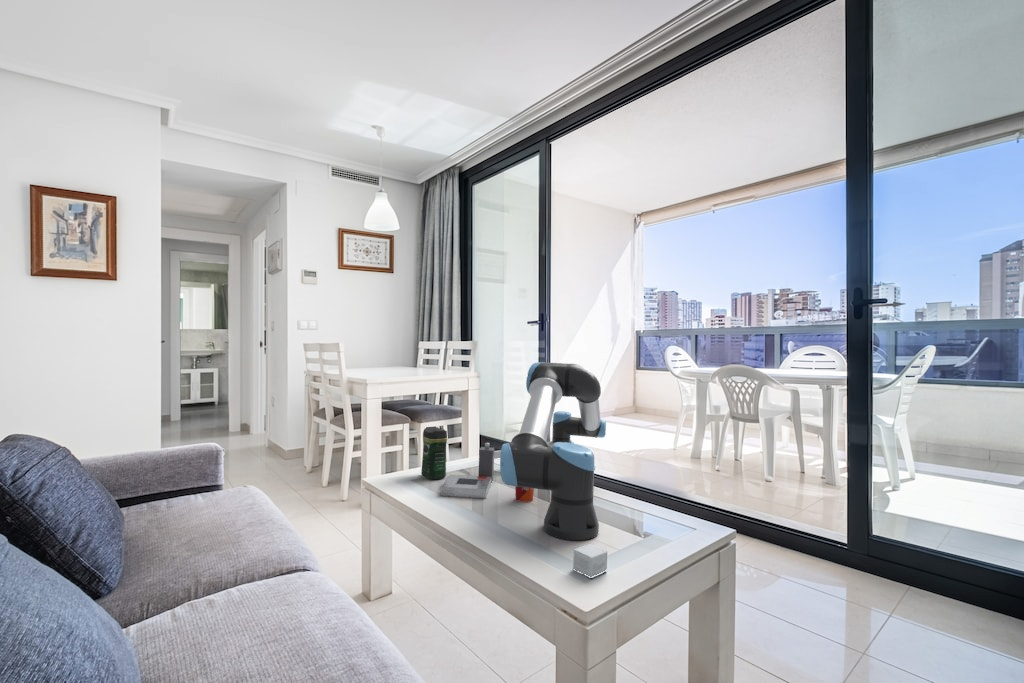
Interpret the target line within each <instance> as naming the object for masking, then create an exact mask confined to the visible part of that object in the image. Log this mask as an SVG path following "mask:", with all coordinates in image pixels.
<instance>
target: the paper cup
mask: <svg viewBox="0 0 1024 683" xmlns="http://www.w3.org/2000/svg"><path fill="white" fill-rule="evenodd" d="M514 487H515V486H514ZM534 491H535V488H525V487H515V500H516V501H518V502H519V503H520V502H521V503H530V502H532V501H533V500H534Z"/></svg>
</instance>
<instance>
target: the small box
mask: <svg viewBox="0 0 1024 683" xmlns="http://www.w3.org/2000/svg"><path fill="white" fill-rule="evenodd" d="M572 557H573V558H572V560H573V561H572V570H573V569H575V570H576V571H579V572H581V573H583V574H586V575H588V576H590V577H592V576H594V575H597V574H599V573H601V572H603V571H605V570H606V569H607V570H608V551H607V550H604V549H602V548H600V547H598V546H595V545H593V544H589V543H588V544H585V545H583V546H580V547H577V548H574V549H573V556H572ZM576 571H575V572H576Z"/></svg>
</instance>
